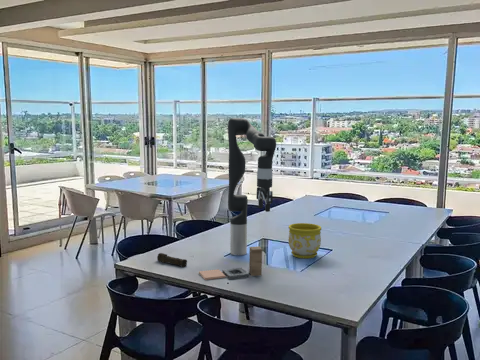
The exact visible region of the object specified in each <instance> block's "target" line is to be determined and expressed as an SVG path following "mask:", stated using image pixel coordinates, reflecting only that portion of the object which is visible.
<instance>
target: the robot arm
mask: <svg viewBox="0 0 480 360" xmlns="http://www.w3.org/2000/svg"><path fill="white" fill-rule="evenodd" d="M244 135H245V137H246V140H247V141H248V142H250V144H252V145H253V147H254V148H255V150H256V151H258V152H265V154H264V155H260V156H259V157H258V159H257V171H256V172H257V173H256V186H257V187H256V200H257V201H258V205H257V206H258V209H264V210H265V212H266V213H267V212H271V204H273V201H274V200H273V199H274V198H273V194H274V193H273V190H270V188H272V187H273V159H274V156H275V155H274V154H275V152H276V148H277V140H276V139H275V138H274V136H265V135H264V133H262V132H261V131H259V130H258V129H256V128H255V127H254V125H252V124H251V122H250V121H249V120H248V119H246V118H242V117H241V118H240V117H232V118H229V120H228V123H227V136H228V137H227V139H228V140H227V141H228V197H227V208H228V210H229V212H240V213H239V214H238V215H236V216H232V217H231V218H230V237H229V238H230V239H229V240H230V241H229V242H230V243H229V244H230V248H229V249H230V250H229V251H230V254H231V255H232V256H245V255H247V252H248V250H247V249H248V248H247V246H248V243H247V242H248V205H249V204H248V201H249V200H248V196H247V195H246V194H235V190H236V188H237V186H238V184H239V182H240V181H241V180H242V178H243V176H244V174H245V173H246V158H245V155H244V154H243V153H244V152H242V150H241V148H240V147H239V144H238V140H237V136H244ZM264 202H265V205H264ZM264 207H265V208H264Z"/></svg>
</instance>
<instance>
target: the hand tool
mask: <svg viewBox="0 0 480 360" xmlns="http://www.w3.org/2000/svg"><path fill="white" fill-rule="evenodd" d="M156 258H157V259H156V260H157V261H158V262H160V263H163V264H165V263H167V264H171V265H174V266H175V265H176V266H180V267H181V268H186V267H187V265H188V260H187V259H186V258H185V259H183V258H179V257H174V256H169V255H168V254H167V253H163V252H159V253H158V254H157V257H156Z"/></svg>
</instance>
